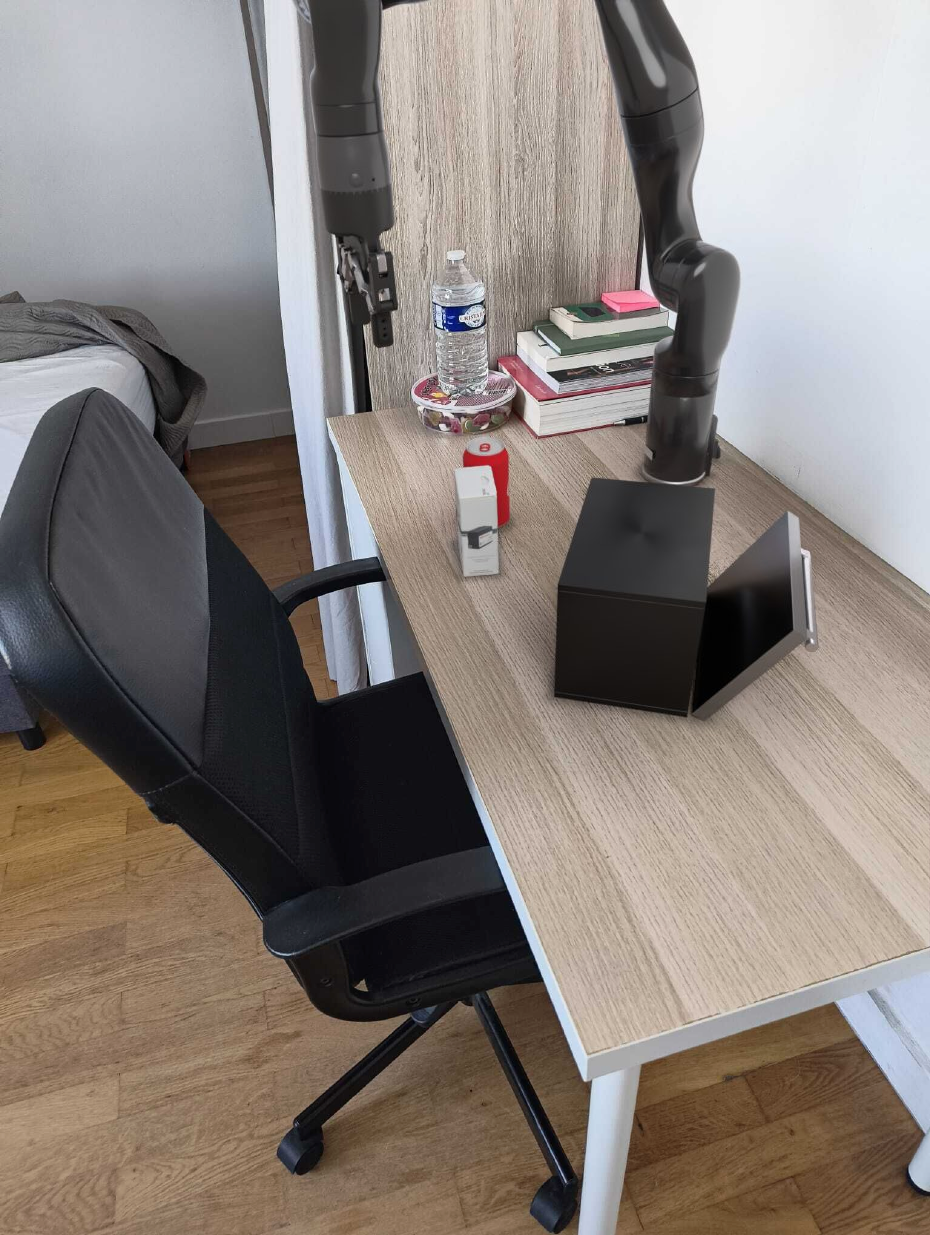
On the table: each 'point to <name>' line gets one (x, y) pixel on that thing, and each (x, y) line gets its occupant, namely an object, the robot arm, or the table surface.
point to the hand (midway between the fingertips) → (372, 334)
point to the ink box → (477, 520)
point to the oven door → (755, 616)
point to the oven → (634, 596)
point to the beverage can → (498, 459)
